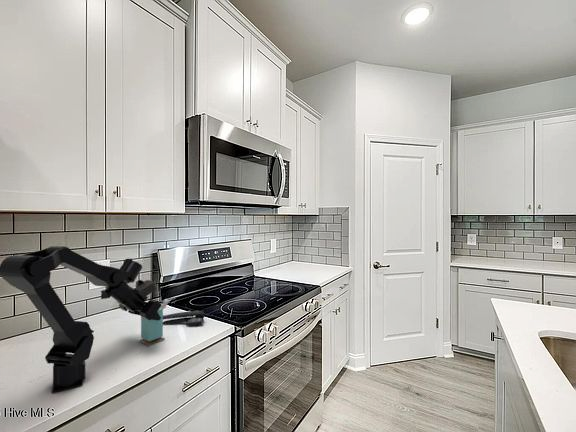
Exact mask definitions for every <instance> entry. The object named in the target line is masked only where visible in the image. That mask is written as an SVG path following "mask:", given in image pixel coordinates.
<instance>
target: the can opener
mask: <svg viewBox="0 0 576 432" xmlns="http://www.w3.org/2000/svg"><path fill="white" fill-rule="evenodd" d="M204 318H205V311H202V310H193V311H191V310H188V311H182V312H176V313H171V314H166V315H163V326H164V325H167V326H169V325H176V324H181V323H186V326H187V327H199V326H201V325H203V324H204V322H205V319H204Z"/></svg>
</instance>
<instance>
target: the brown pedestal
mask: <svg viewBox="0 0 576 432" xmlns="http://www.w3.org/2000/svg"><path fill="white" fill-rule="evenodd" d="M138 341H139V343H142V344H143V345H145V346H148V347H149V346H152V345H155V344H158V343H159V342H160V343H161V342H163V341H165V337H163V336H162V337H160V338H157V339H154V340H151V341H147V340H145V339H143V338H141V339H139V340H138Z"/></svg>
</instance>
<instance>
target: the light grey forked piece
mask: <svg viewBox="0 0 576 432" xmlns="http://www.w3.org/2000/svg"><path fill="white" fill-rule="evenodd" d="M169 301H170V300H169V299H167V298H165V299H164V300H163V302H162V303H161V304H162V306H161V307H160V308H161V309H163V310H164V309H166V307H167V305H168V303H169Z"/></svg>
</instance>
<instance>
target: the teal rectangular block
mask: <svg viewBox="0 0 576 432" xmlns="http://www.w3.org/2000/svg"><path fill="white" fill-rule="evenodd" d="M157 312H158V314H159V315H160V317H161V319H160V320H159V321H158V320H147V319H144V318H142V317H141V316H140V338H141V339H145V340H147V341H151V340H154V339H157V338H160V337H163V334H164V333H163V331H164V330H163V328H164V325H163V322H164V320H163V316H164V309H161V308H160V309H159V310H158V311H157Z"/></svg>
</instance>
